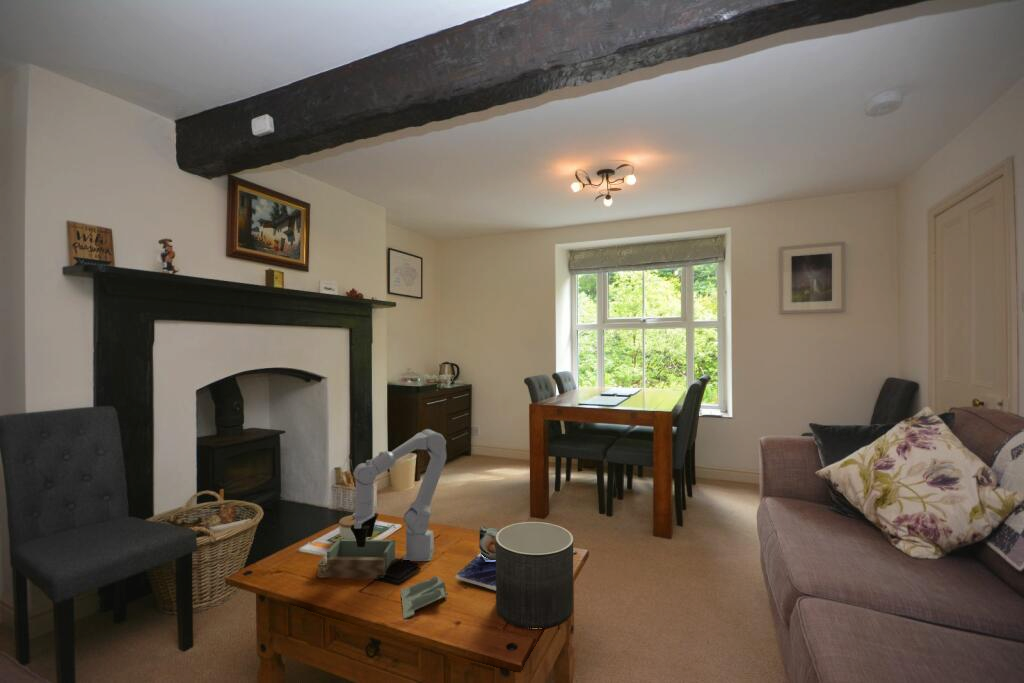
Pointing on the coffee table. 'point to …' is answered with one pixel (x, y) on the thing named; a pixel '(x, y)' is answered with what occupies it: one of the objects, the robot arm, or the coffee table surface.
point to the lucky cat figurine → (488, 542)
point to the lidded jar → (347, 527)
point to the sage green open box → (362, 550)
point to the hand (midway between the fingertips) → (365, 541)
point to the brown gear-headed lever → (352, 567)
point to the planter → (534, 575)
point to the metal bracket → (421, 595)
